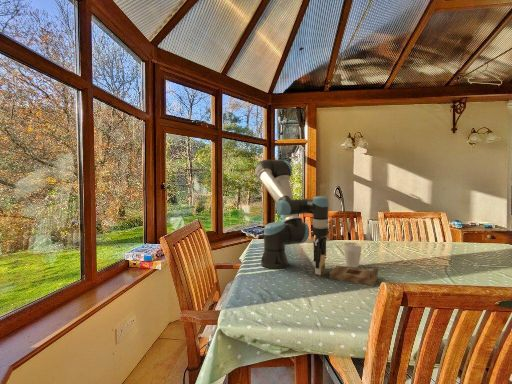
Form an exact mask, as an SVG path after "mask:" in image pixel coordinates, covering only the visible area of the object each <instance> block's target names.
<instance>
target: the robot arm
mask: <svg viewBox="0 0 512 384" xmlns="http://www.w3.org/2000/svg"><path fill="white" fill-rule="evenodd" d="M254 169H255V170H254V175H255V177H256V179H257V181H258V182H260V183H262V185H263V186H264V187H265V189H266V190H267V192H268V193H269V195H270V196H271V198H273V200H274V202H275V209H276V213H277V214H278V215H280V216H283V221H274V222H270V223H267V224H266V225H264V228H263V248H264V249H263V254H262V255H261V256H262V257H261V259H260V265H261V267H263V268H267V269H272V270H273V269H274V270H276V269H277V270H278V269H284V268H287V267H288V266H289V260H288V256H287V253H286V245H287V246H289V245H295V244H296V245H297V244H298V245H299V244H304V243H305V242H307V240H308V239H309V236H310V227H309V225H308V224H307V223H306V222H304V221H303V219H302V217H301V216H299V215H302V214H303V215H304V214H310V215H312V235H313V236H315V240H314V241H312V246H313V262H314V275H315V274H318V275H321V262H320V258H321V253H322V254H325V260H326V259H327V236H329V228H328V226H329V223H330V221H329V206H330V205H329V198H328V196H321V195H317V196H313V198H312V199H311V198H301V199H294V195H293V191H292V188H291V184H290V180H291V177H292V175H293V168H292V165H291V163H290V162H289V161H287V160H285V159H263V160H261V161H259V162H258V163H257V164H256V166H255V168H254ZM318 275H317V276H318Z"/></svg>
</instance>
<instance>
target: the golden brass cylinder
mask: <svg viewBox="0 0 512 384" xmlns="http://www.w3.org/2000/svg"><path fill="white" fill-rule="evenodd" d="M325 257H326V256H325V254H322V253H321V258H320V262H321V275H318V274H315V273H314V275H315V276H320V277H323V276H325V275H326V259H325Z"/></svg>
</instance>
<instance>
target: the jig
mask: <svg viewBox="0 0 512 384" xmlns="http://www.w3.org/2000/svg"><path fill="white" fill-rule="evenodd" d="M378 272H379V267H376V266H375V267H374V266H373V269H372V270H369V269H364V268H363V269H362V268H358V267H356V268H352V267H348V266H343V265H336V266H334V267H333V268H332V269H331V270H330V271H329V279H333V280H339V281H344V282H349V283H356V284H360V285H365V286H371V287H374V286H375V284H376V282H377V281H378V278H379V276H378V275H379V273H378Z"/></svg>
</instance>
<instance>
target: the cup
mask: <svg viewBox="0 0 512 384" xmlns="http://www.w3.org/2000/svg"><path fill="white" fill-rule="evenodd" d="M343 250H344V252H343V253H344V259H345V267H350V268H359V266H360V261H361V255H362V244H360V243H358V242H345V243H344V246H343Z"/></svg>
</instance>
